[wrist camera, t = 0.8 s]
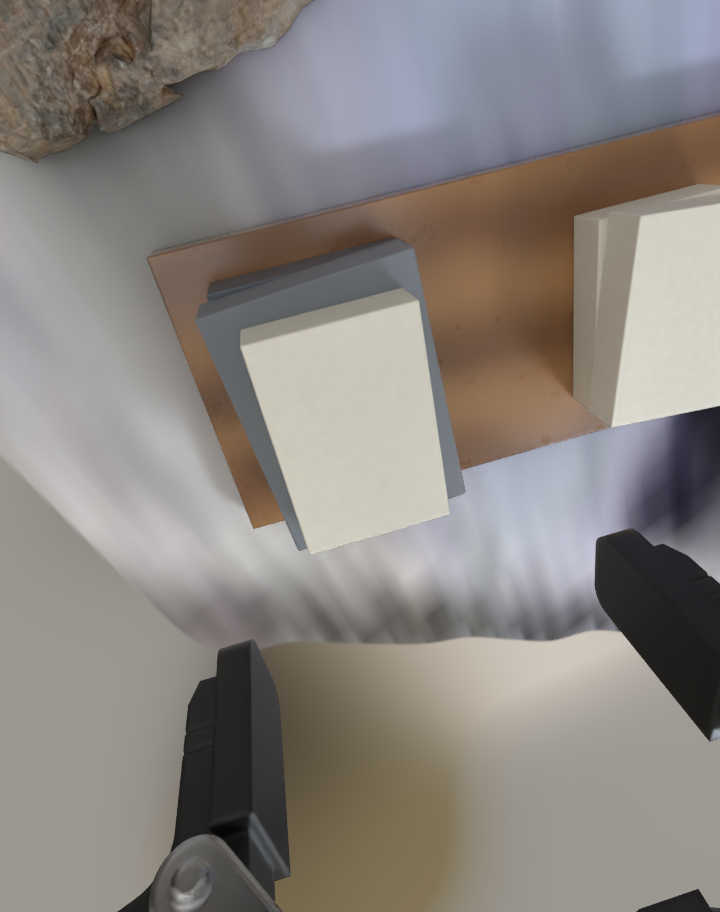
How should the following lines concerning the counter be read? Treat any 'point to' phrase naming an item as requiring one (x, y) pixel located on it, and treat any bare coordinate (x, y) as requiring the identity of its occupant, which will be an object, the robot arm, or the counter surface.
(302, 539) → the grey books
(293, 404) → the white book
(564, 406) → the shelf board
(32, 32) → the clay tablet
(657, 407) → the white books
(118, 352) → the counter surface
